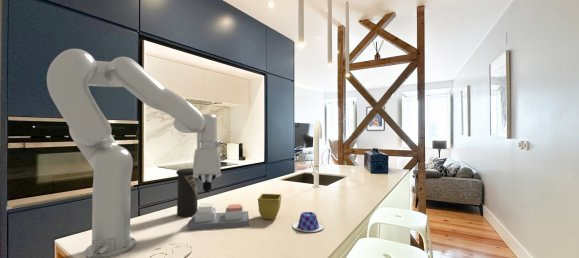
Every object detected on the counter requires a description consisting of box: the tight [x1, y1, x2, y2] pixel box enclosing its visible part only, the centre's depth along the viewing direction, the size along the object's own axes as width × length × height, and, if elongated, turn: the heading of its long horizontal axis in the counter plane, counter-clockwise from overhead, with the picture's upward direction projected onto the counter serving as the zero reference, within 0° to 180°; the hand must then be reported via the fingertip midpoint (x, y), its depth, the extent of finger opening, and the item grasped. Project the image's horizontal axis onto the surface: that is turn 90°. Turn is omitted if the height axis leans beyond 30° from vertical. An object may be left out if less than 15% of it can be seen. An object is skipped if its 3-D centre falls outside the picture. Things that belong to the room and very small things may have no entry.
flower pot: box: [257, 193, 282, 220], centre depth 105 cm, size 9×9×9 cm
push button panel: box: [187, 205, 250, 231], centre depth 99 cm, size 12×22×5 cm, turn 101°
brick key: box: [227, 203, 242, 212], centre depth 100 cm, size 5×5×3 cm
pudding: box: [292, 211, 325, 233], centre depth 95 cm, size 12×12×5 cm
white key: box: [198, 202, 214, 213], centre depth 98 cm, size 5×5×3 cm
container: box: [175, 167, 199, 218], centre depth 109 cm, size 9×9×20 cm
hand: (207, 191), depth 98 cm, fingers closed
